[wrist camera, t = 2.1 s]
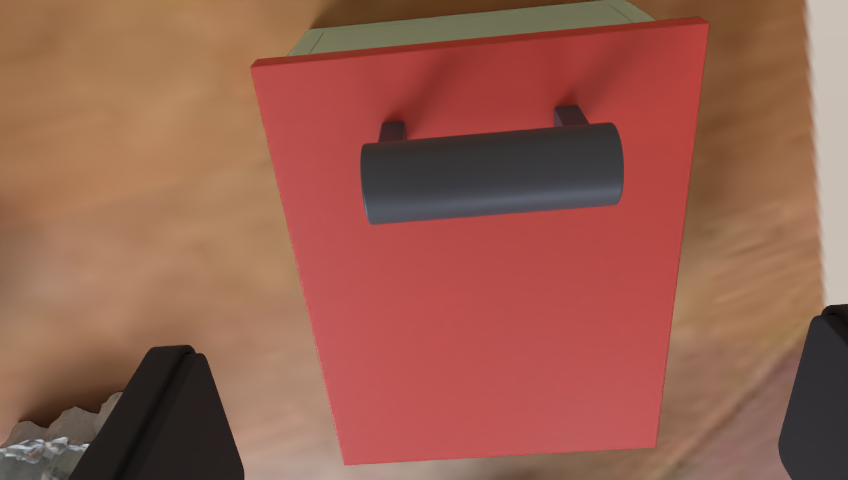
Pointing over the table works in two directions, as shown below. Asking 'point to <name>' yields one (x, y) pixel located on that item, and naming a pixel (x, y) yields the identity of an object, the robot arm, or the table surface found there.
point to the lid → (490, 233)
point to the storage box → (469, 26)
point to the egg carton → (51, 444)
